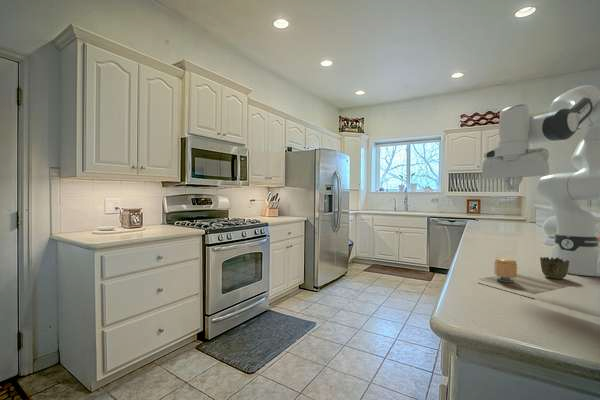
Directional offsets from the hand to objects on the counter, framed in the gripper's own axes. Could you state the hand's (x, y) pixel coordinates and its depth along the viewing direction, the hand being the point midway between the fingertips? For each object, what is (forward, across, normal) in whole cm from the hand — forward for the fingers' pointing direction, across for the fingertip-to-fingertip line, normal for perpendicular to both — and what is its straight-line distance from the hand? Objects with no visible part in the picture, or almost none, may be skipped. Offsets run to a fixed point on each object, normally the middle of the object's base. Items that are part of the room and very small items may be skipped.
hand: (512, 190), depth 102 cm
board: (+31, -8, +8) cm, 33 cm away
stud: (+30, -5, +12) cm, 32 cm away
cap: (+28, -5, +12) cm, 31 cm away
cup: (+31, -9, -8) cm, 34 cm away
